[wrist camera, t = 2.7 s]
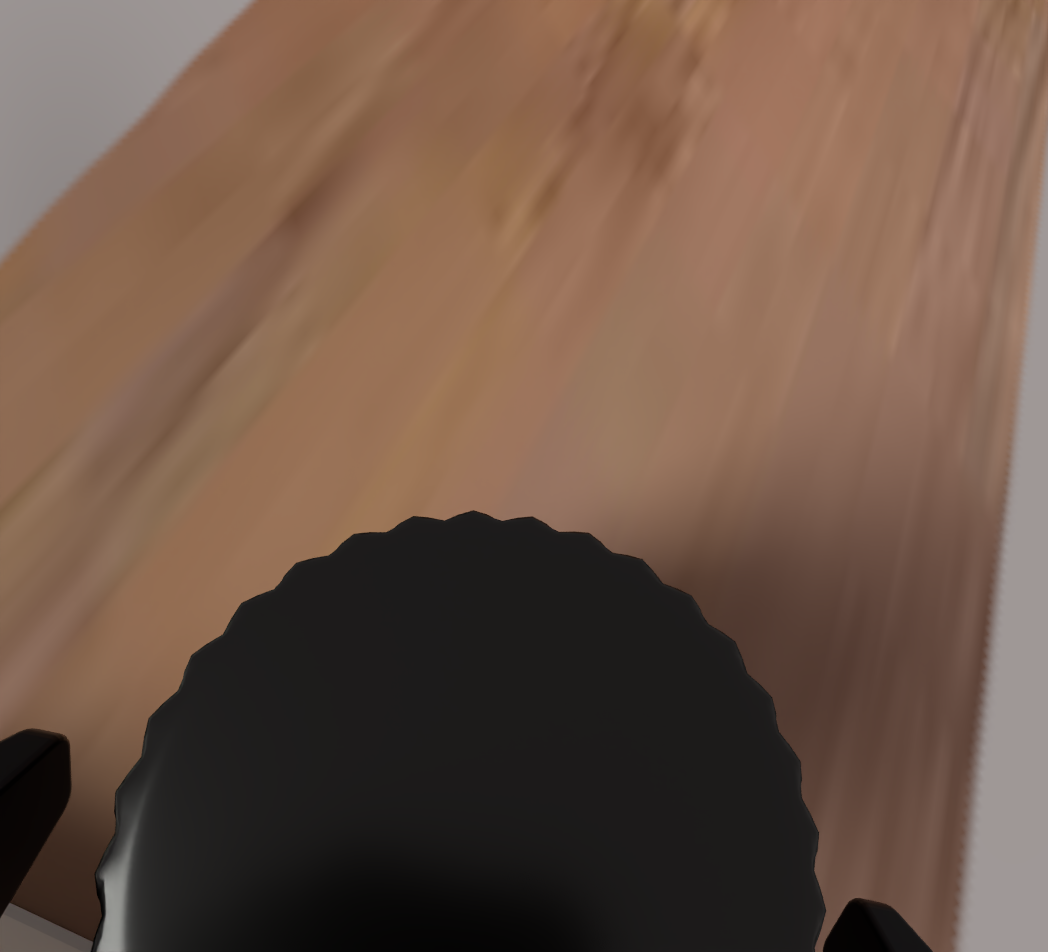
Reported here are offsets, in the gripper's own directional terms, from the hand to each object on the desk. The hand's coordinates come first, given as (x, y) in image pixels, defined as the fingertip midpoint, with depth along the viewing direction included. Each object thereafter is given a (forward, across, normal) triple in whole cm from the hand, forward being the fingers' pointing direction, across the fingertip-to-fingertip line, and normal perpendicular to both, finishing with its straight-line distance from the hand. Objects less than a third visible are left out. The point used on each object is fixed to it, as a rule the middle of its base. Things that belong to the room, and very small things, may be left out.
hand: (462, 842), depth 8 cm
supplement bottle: (+6, 0, +6) cm, 8 cm away
